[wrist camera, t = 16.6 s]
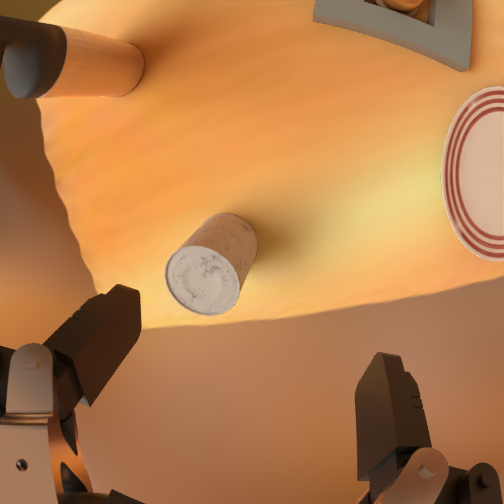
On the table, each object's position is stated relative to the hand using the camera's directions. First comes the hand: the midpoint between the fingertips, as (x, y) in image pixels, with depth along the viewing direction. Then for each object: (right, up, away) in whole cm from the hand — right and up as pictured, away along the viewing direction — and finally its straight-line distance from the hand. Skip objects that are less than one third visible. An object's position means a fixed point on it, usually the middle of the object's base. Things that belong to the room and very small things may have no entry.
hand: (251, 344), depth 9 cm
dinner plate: (+39, +15, +24) cm, 48 cm away
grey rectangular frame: (+20, +39, +16) cm, 47 cm away
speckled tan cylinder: (-4, +4, +37) cm, 38 cm away
